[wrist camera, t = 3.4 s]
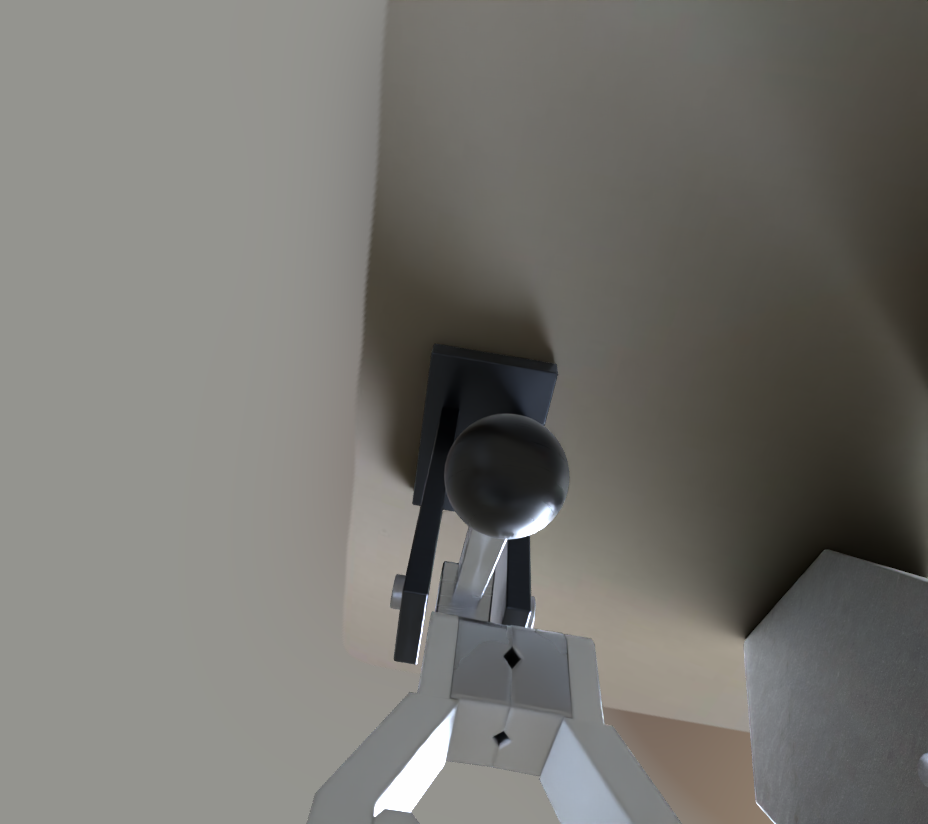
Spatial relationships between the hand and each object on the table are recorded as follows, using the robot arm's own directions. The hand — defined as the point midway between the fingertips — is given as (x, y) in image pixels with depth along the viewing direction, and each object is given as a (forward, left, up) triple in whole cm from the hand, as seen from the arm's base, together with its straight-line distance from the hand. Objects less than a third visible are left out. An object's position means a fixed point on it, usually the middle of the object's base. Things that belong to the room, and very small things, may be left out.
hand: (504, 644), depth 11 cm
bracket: (+4, -10, -23) cm, 26 cm away
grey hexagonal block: (+32, -8, -23) cm, 41 cm away
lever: (+2, -4, -9) cm, 10 cm away
